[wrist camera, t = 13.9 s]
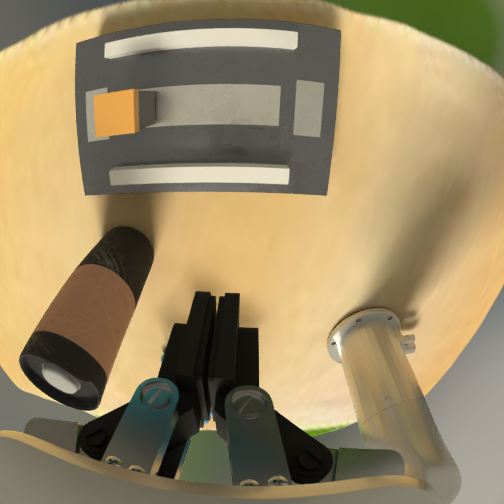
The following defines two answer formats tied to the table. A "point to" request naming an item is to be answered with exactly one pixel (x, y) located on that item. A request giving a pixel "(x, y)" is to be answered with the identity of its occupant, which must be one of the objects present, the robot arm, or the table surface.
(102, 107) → the switch handle
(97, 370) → the travel mug
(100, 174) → the switch panel
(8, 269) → the table surface
